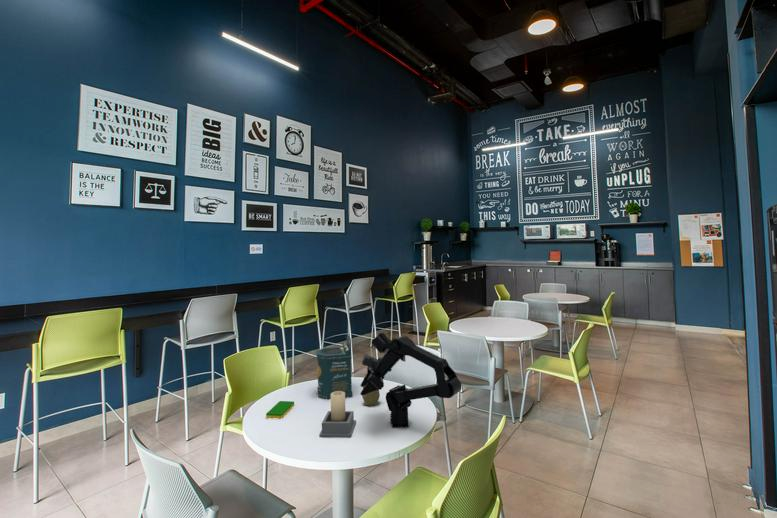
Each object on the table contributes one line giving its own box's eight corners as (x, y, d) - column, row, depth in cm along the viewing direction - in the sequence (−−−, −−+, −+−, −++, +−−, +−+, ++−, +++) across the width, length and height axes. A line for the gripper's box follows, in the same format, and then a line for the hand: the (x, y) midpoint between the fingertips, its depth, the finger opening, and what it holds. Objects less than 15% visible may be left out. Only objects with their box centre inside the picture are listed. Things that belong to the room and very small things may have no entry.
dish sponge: (294, 406, 164) (294, 401, 164) (281, 420, 150) (281, 414, 150) (279, 406, 165) (279, 400, 165) (265, 419, 151) (265, 413, 151)
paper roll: (348, 424, 142) (347, 391, 141) (341, 431, 136) (340, 396, 136) (335, 422, 144) (335, 390, 144) (328, 429, 138) (327, 395, 138)
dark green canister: (352, 397, 172) (351, 339, 172) (318, 401, 169) (316, 341, 169) (348, 385, 188) (347, 332, 188) (317, 389, 185) (315, 334, 184)
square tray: (356, 422, 146) (355, 410, 146) (351, 437, 134) (350, 424, 134) (326, 422, 146) (326, 410, 146) (319, 437, 134) (319, 423, 134)
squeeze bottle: (364, 408, 159) (363, 367, 159) (360, 401, 167) (359, 362, 167) (381, 405, 161) (380, 366, 161) (377, 399, 169) (376, 361, 169)
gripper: (372, 342, 154) (347, 369, 153) (374, 354, 135) (345, 385, 134) (391, 360, 154) (366, 387, 154) (395, 374, 136) (367, 404, 135)
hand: (361, 390), depth 144 cm, fingers open, 9 cm apart
